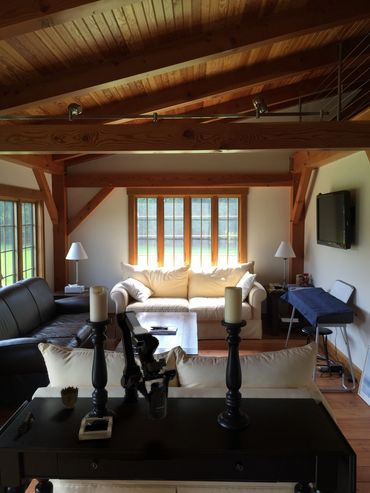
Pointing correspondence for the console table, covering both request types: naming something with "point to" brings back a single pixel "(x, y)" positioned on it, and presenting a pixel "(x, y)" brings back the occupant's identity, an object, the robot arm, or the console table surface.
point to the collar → (95, 434)
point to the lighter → (26, 423)
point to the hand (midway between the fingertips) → (158, 399)
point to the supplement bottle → (157, 401)
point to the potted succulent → (69, 396)
